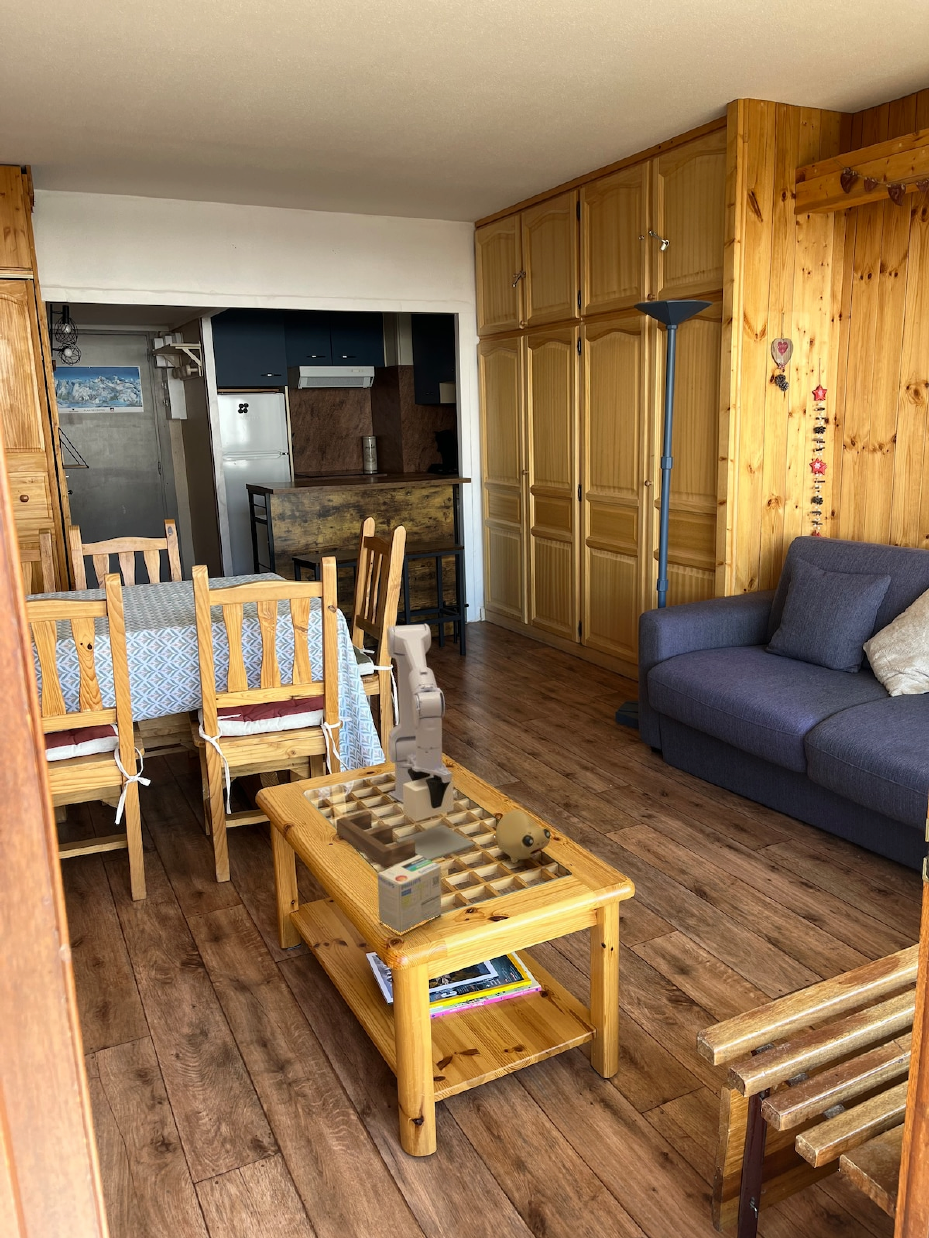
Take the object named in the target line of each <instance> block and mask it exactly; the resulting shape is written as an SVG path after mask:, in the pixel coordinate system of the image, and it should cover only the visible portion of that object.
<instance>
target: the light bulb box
mask: <svg viewBox="0 0 929 1238" xmlns="http://www.w3.org/2000/svg"><path fill="white" fill-rule="evenodd" d="M441 873H442V865H440V864H439V863H436V862H434V861H433V860H432V861H430V860H428V859H426V858H424V857H422V856H420V855H417V856H416V855H415V856H414V857H412V858H410V859H408V860H405V861H402V862H399V863H397V864H394V866H393V865H392V866H391V867H388V868H387V869H385V870H382V871H380V872H377V889H378V890H377V892H378V893H377V894H378V897H377V899H378V918H379V919H378V921H379V920H380V921H382V923H384V924H386V925H388V926H389V927H391V928H392V929H394V930H396V931H398V932H400V933H401V932H403V931H406V930H408V929H410V928H411V927H414V926H415V925H416V924H419V923H421V922H422V921H424V920H429V919H431V918H433V917H436V916H438V915H441V916H442V874H441Z"/></svg>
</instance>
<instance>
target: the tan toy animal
mask: <svg viewBox="0 0 929 1238" xmlns="http://www.w3.org/2000/svg"><path fill="white" fill-rule="evenodd" d="M495 831H496V832H495V836H496V840H497V841H496V842H497V843H498V845H497V848H498V849H499V850H500V851H501V850H502V852H504V854H506V855H507V856H509V857H510V861H511V863H513V862H516V861H517V862H518V861H519V860H528V859H531V858H533V856H534V855H535V854H536V855H537V854H538V853H539V852H540V851H542V850H544V849H545V848H547V847H548V845H549V844H550V840H551V836H552V835H551V832H550V830H549V829H548V828H542V827H541V826H540V825H539V824H538V823H537V822H536V821H535V820H534V819H533V818H532V817H531V816H530V815H529V814H528V813H526V812H525V811H524V810H522V809H519V808H518V809H517V808H516V809H512V810H510V811H508V812H506V813H505V814H504V815H503V816H502V817H501V819H500V820H499V821H498V823H497V825H496V830H495ZM536 855H535V856H536ZM535 856H534V857H535ZM517 862H516V863H517Z"/></svg>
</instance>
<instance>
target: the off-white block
mask: <svg viewBox="0 0 929 1238" xmlns="http://www.w3.org/2000/svg"><path fill="white" fill-rule="evenodd" d="M432 777H433V776H429V777H426V778H422V779H419V780H415V781H412V782H408V783H405V784H403V806H402V808H403V809H402V810H403V811H402V812H403V814H404V815H405V816H406V817H408V818H409V819H412V820H413V821H415V822H418V821H421V820H425V819H428V818H431V817H434V816H438V815H441V814H445V813H446V812H450V811H453V810H454V780H453V779H452V781H451V782H450V783H449V785H448V787H447V789H446V791H445V794H444V797H443V801H442V805H441V807H438V808H432V805H431V797H430V791H429V788H428V785H427V783H426V779H429V778H432Z"/></svg>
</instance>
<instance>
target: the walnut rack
mask: <svg viewBox="0 0 929 1238" xmlns="http://www.w3.org/2000/svg"><path fill="white" fill-rule="evenodd" d="M372 825H373V823H372V813H371V812H370V811H368V810H364V811H360V812H357V813H353V814H351V815H347V816H343V817H340V818H337V819H336V835H338V836H339V835H340V837H341V838H342V839H343V838H344V839H343V840H345V841H346V842H347V843H349V844H350V845H352V846H353V847H355V848H356V849H357V850H359V851H360V852H362V853H363V854H364V855H365V856H367V857H369V858H370V859H371V860H373V861H374V862H375V863H377V864H378V865H380V866H381V867H382V868H387V867H390V866H393V865H397V864H400V863H402V862H404V861H406V860H408V859H410V858H412V857H414V856H416V855H415V842H414V841H413V840H411V839H407V840H404V841H401V842H398V843H397V842H395V843H393V841H394V837H393V826H391V825H390V824H388V823H386V824H384V825H383V824H382V825H381V826H377V827H374V828H372ZM390 843H392V844H390ZM387 844H390V845H387Z"/></svg>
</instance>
